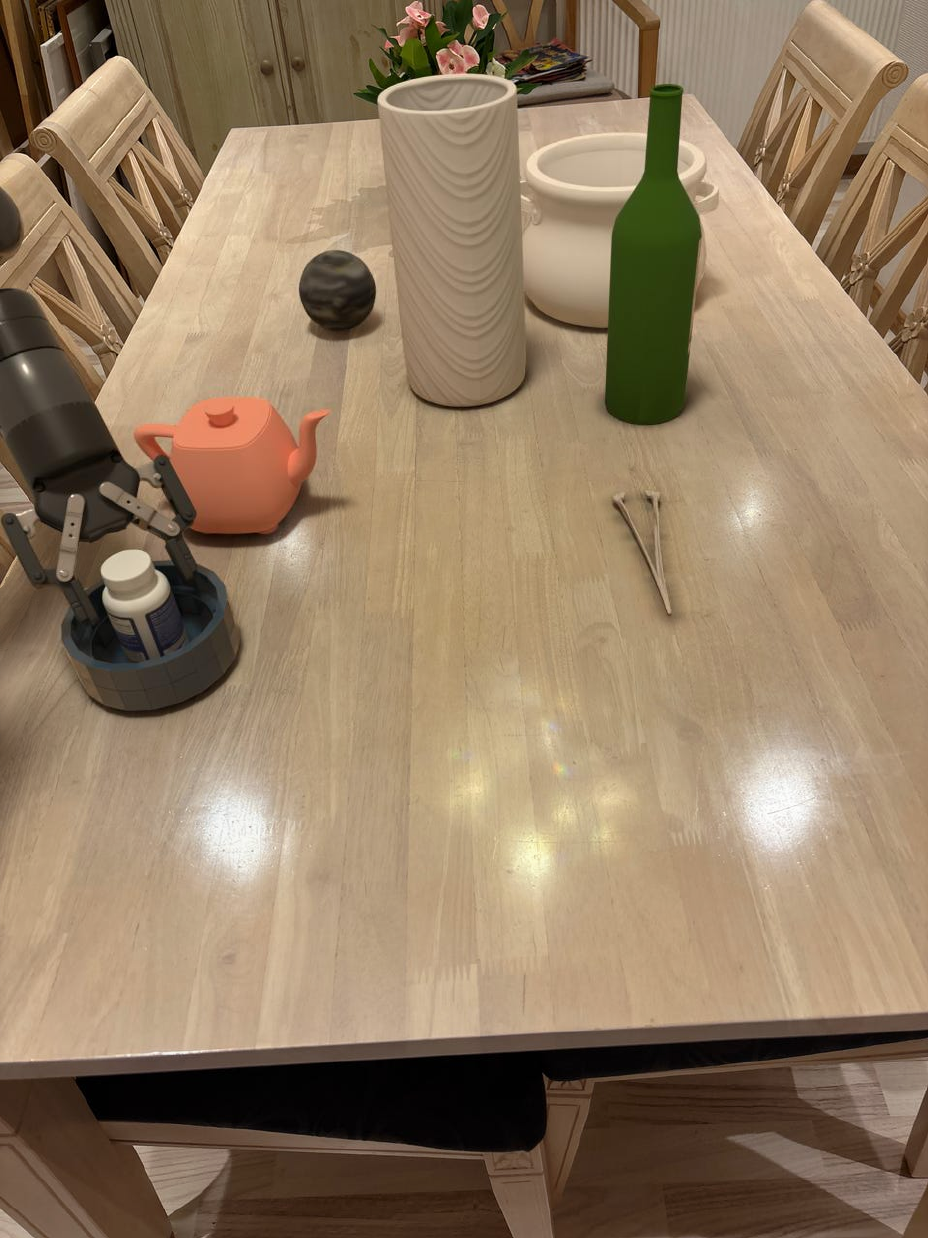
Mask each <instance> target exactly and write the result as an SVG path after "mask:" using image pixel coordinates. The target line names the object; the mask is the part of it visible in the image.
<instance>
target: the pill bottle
mask: <svg viewBox="0 0 928 1238" xmlns="http://www.w3.org/2000/svg"><path fill="white" fill-rule="evenodd" d="M152 561H153V560H152V558H151V556H150V555H149V553H148V552H146V551H144V550H141V549H125V550H122V551H119V552H117V553H115V554H112V555H111V556H109V557H108V558H107V559H105V561H103V563H102V564H101V567H100V575H101V577H102V578H103V581H104V584H105V586H106V587H105V589H104V591H103V597H102V598H103V603H104V606H105V609H106V611H107V613H108V616H109V618H110V621H111V623H112V625H113V627H114V630H115V632H116V634H117V637H118V639H119V641H120V644H121V646H122V648H123V651H124V653H125V655H126V657H127V659H128V661H129V663H139V662H143V661H147V660H151V659H155V658H159V657H163V656H165V655H167V654H169V653H171V652H173V651H175V650H177V649H180V648H182V647H184V646H185V645H186V644H188V643H189V638H188V635H187V632H186V629H185V627H184V624H183V621H182V618H181V615H180V613H179V610H178V607H177V604H176V602H175V599H174V596H173V593H172V590H171V587H170V584H169V582H168V580H167V578H166V577H165V576H164V575H163V574H162V573H161V572H159V571H157V570H155V567H154V565H153V563H152ZM102 578H101V579H102Z"/></svg>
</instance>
